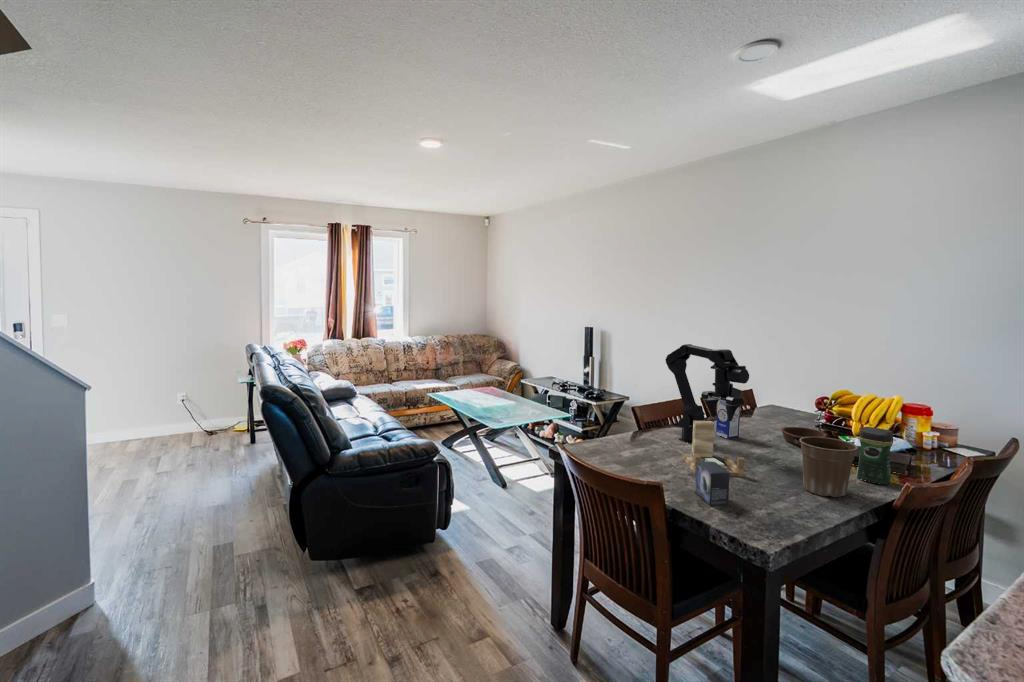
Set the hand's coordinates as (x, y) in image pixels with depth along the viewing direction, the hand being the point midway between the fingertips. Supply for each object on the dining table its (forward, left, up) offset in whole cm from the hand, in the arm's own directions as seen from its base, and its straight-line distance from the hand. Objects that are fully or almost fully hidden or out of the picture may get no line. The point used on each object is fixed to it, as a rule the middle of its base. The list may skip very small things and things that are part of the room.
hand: (721, 419), depth 214 cm
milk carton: (-15, +20, -13) cm, 28 cm away
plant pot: (+46, -1, -13) cm, 48 cm away
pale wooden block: (+3, -13, -13) cm, 19 cm away
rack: (+16, -20, -13) cm, 29 cm away
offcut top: (+18, -22, -11) cm, 30 cm away
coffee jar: (+46, +24, -13) cm, 53 cm away
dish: (+4, +43, -14) cm, 46 cm away
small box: (+37, -41, -14) cm, 57 cm away
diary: (+33, +42, -14) cm, 55 cm away
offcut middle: (+19, -22, -12) cm, 31 cm away
